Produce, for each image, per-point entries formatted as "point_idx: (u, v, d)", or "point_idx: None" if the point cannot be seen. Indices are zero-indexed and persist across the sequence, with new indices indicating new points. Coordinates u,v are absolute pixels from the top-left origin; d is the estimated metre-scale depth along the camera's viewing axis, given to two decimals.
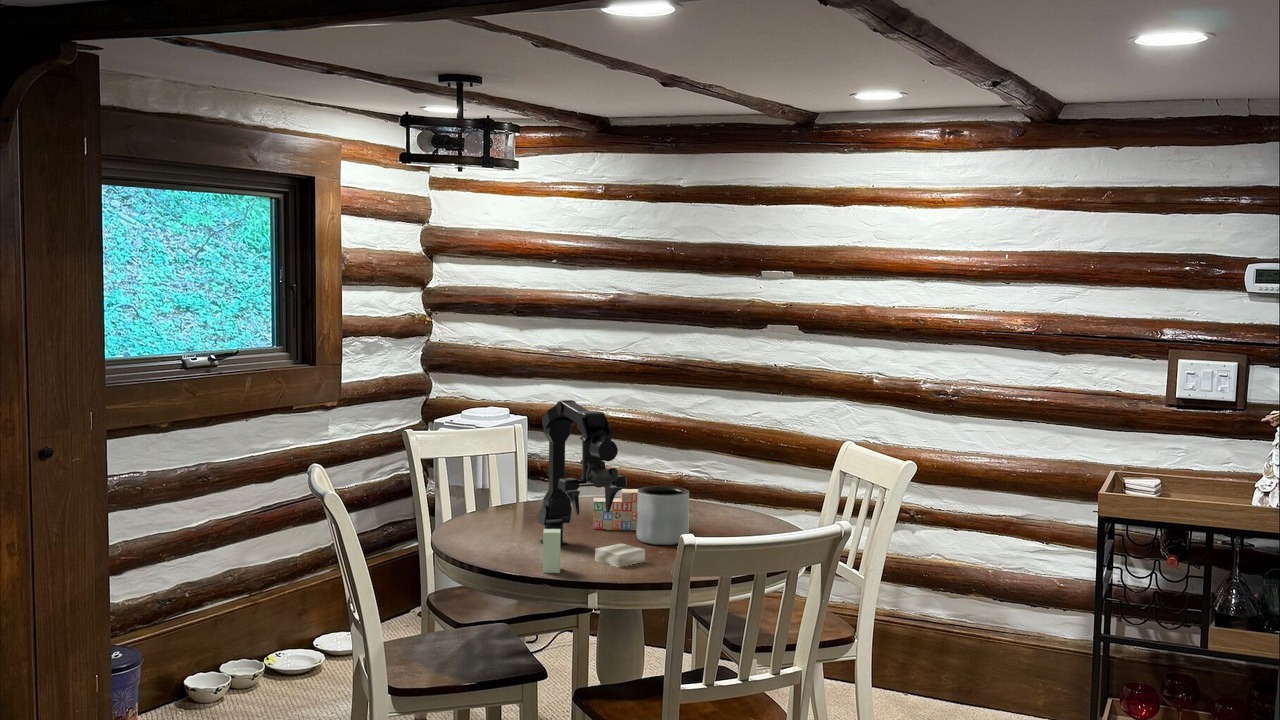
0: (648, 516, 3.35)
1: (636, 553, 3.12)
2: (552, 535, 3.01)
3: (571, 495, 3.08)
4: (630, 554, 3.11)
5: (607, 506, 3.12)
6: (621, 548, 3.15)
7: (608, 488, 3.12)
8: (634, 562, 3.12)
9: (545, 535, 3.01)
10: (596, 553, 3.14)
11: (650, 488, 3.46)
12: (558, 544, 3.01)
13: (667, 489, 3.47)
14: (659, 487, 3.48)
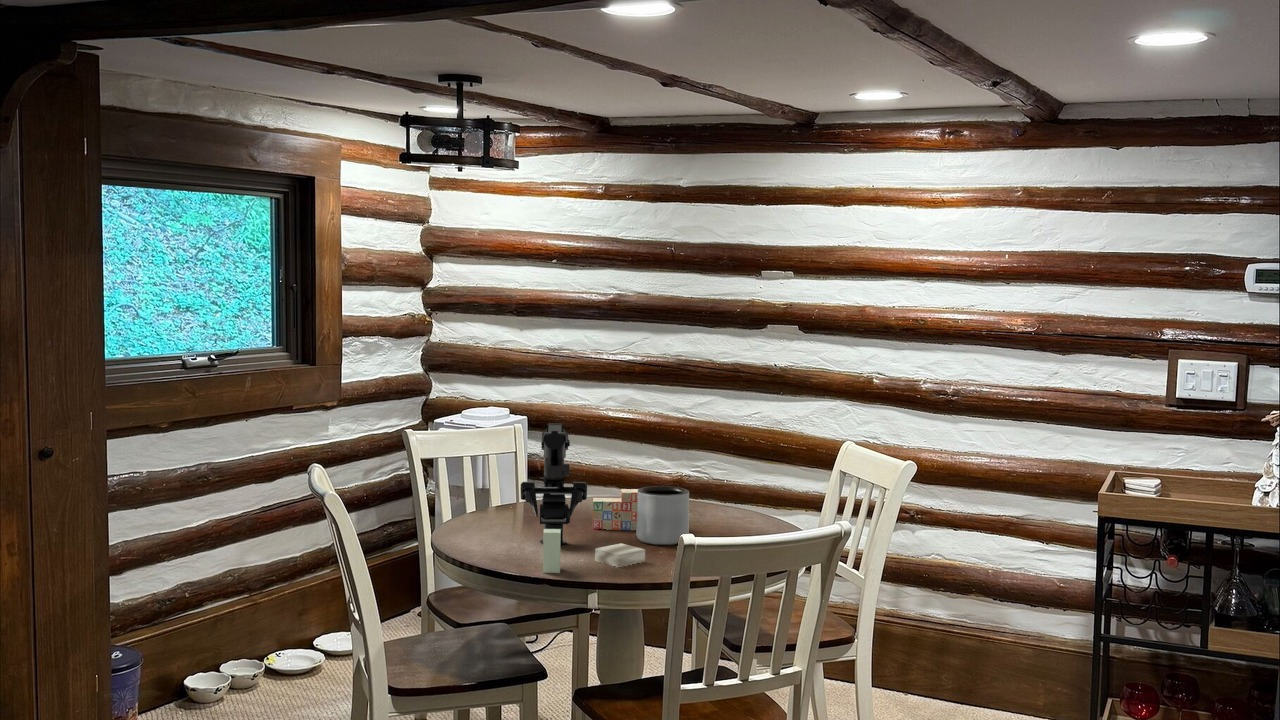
0: (648, 516, 3.35)
1: (636, 553, 3.12)
2: (553, 535, 3.01)
3: None
4: (630, 554, 3.11)
5: (569, 511, 3.12)
6: (621, 548, 3.15)
7: None
8: (634, 562, 3.12)
9: (545, 535, 3.01)
10: (596, 553, 3.14)
11: (650, 488, 3.46)
12: (558, 544, 3.01)
13: (667, 489, 3.47)
14: (659, 487, 3.48)
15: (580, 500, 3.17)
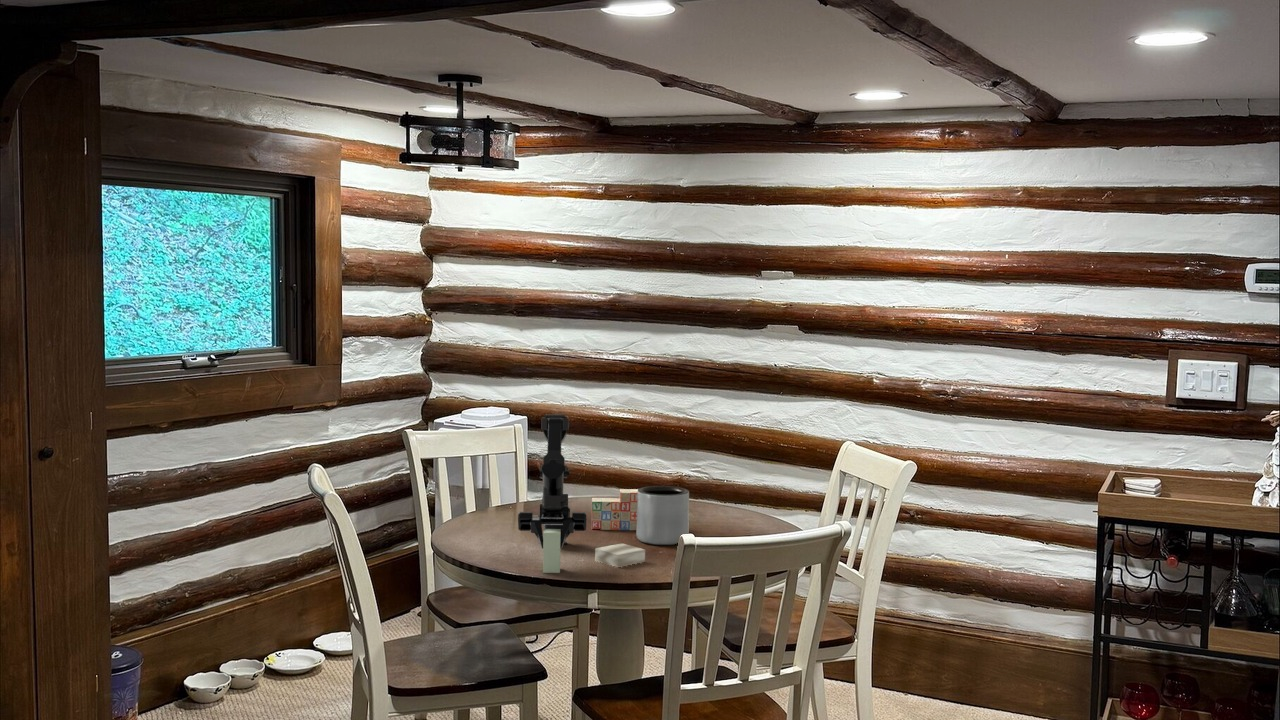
0: (648, 516, 3.35)
1: (635, 553, 3.12)
2: (552, 535, 3.01)
3: (538, 533, 3.06)
4: (629, 554, 3.11)
5: (560, 542, 3.03)
6: (621, 548, 3.15)
7: None
8: (634, 562, 3.12)
9: (545, 535, 3.01)
10: (596, 553, 3.15)
11: (650, 488, 3.46)
12: (558, 544, 3.01)
13: (667, 489, 3.47)
14: (659, 487, 3.48)
15: (572, 531, 3.08)
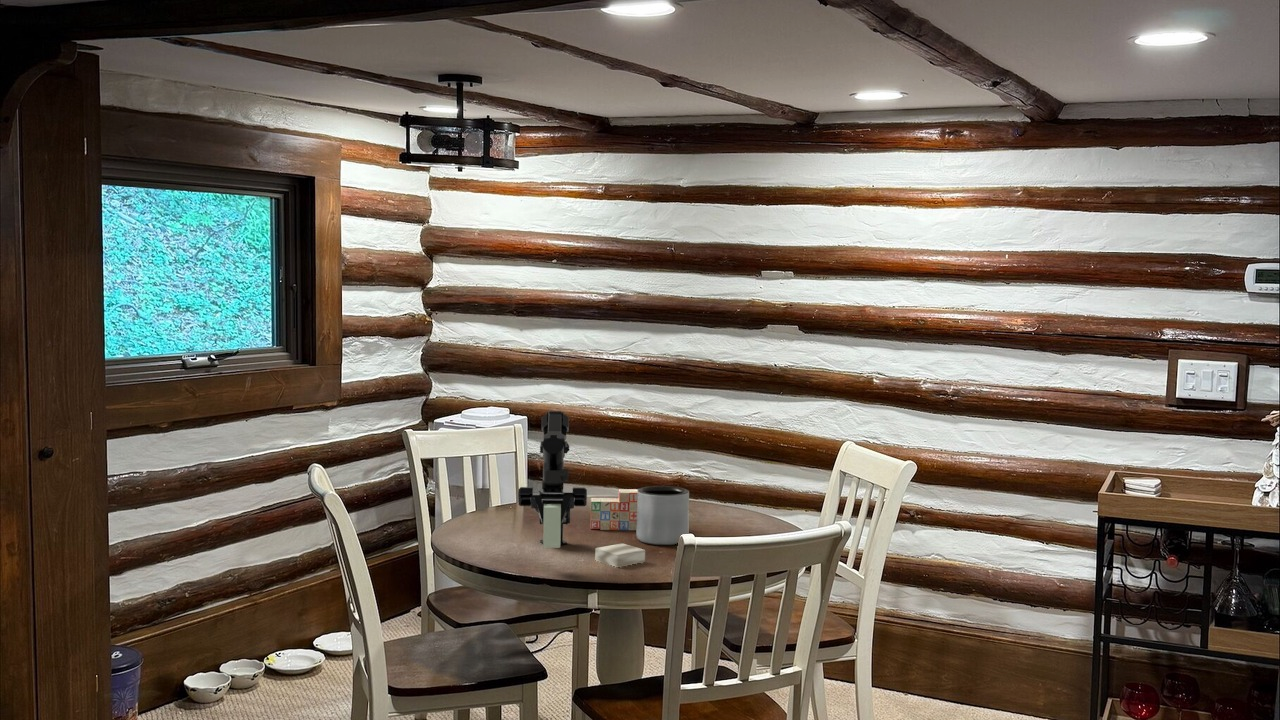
0: (648, 516, 3.35)
1: (635, 553, 3.12)
2: (553, 510, 3.00)
3: (538, 508, 3.06)
4: (629, 554, 3.10)
5: None
6: (621, 548, 3.15)
7: None
8: (633, 562, 3.12)
9: (545, 510, 3.00)
10: (597, 552, 3.15)
11: (650, 488, 3.46)
12: (558, 519, 3.01)
13: (667, 489, 3.47)
14: (659, 487, 3.48)
15: (572, 506, 3.07)
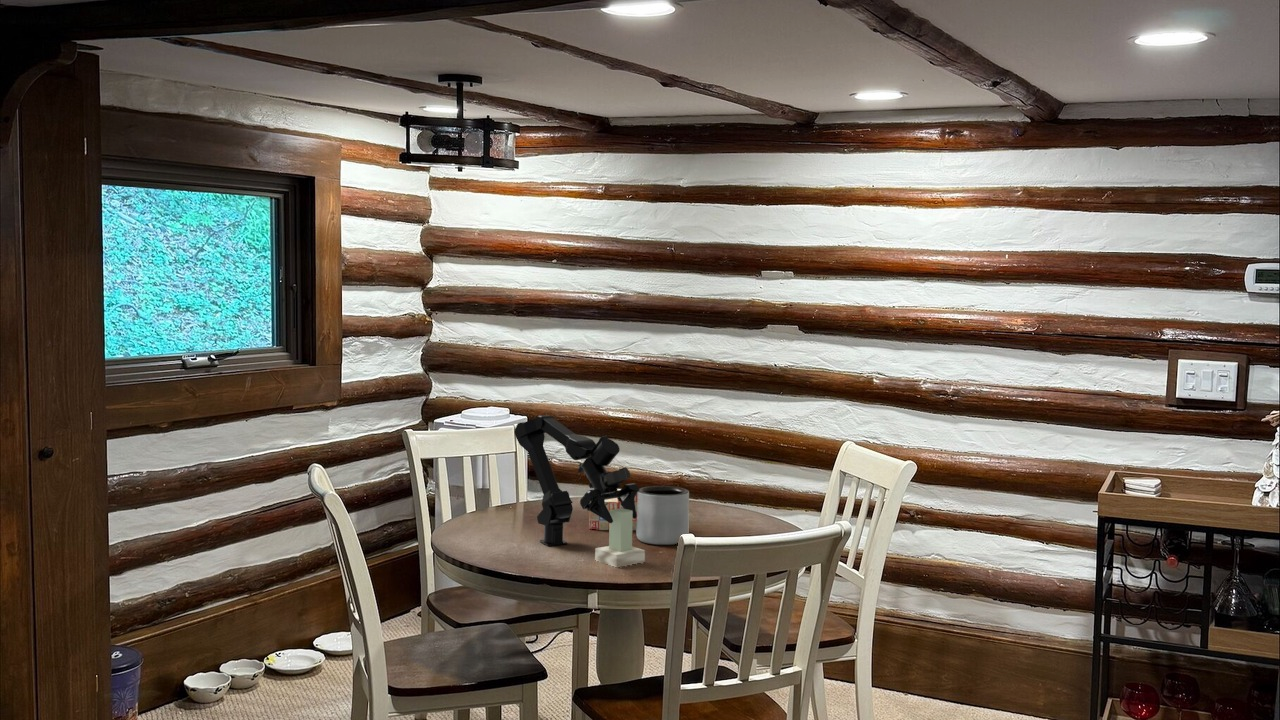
0: (648, 516, 3.35)
1: (635, 554, 3.12)
2: (627, 514, 3.13)
3: (597, 509, 3.12)
4: (628, 554, 3.10)
5: None
6: None
7: (625, 500, 3.20)
8: (633, 563, 3.12)
9: (622, 515, 3.11)
10: (596, 552, 3.15)
11: (650, 488, 3.46)
12: (631, 522, 3.14)
13: (667, 489, 3.47)
14: (659, 487, 3.48)
15: None
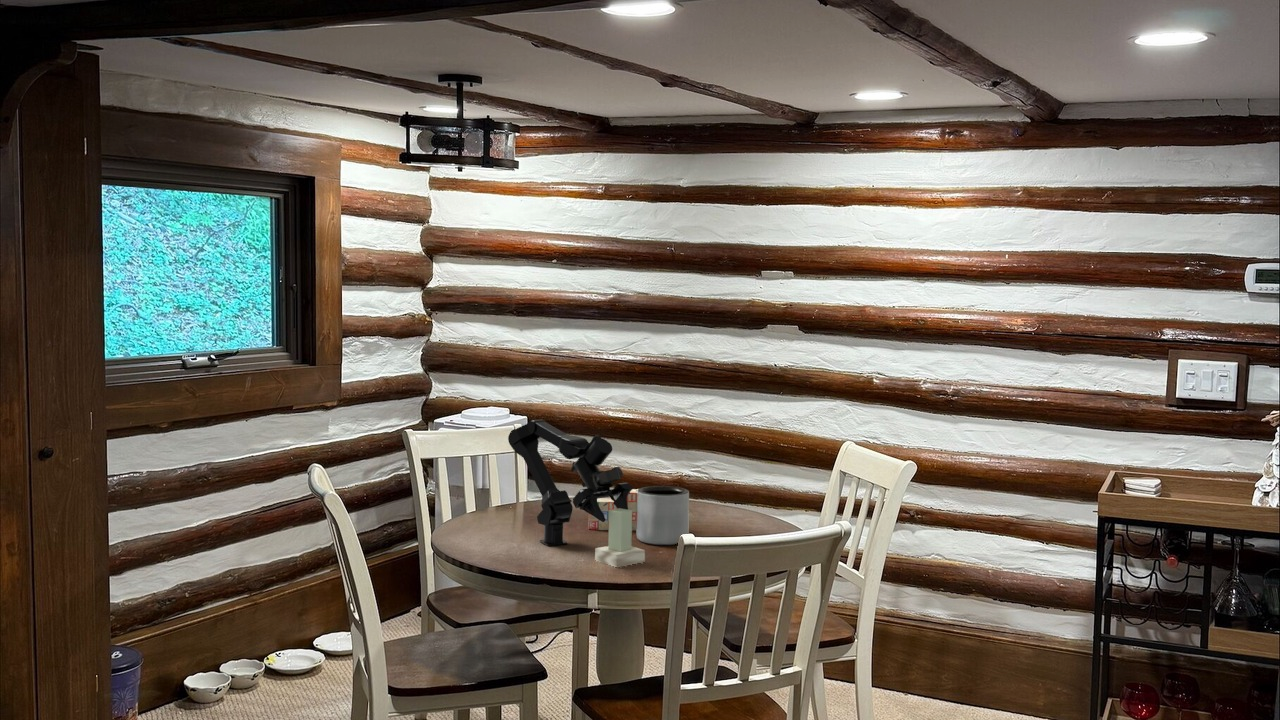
0: (648, 516, 3.35)
1: (635, 553, 3.12)
2: (627, 514, 3.13)
3: (590, 508, 3.14)
4: (628, 554, 3.10)
5: None
6: None
7: (617, 499, 3.22)
8: (633, 563, 3.12)
9: (622, 515, 3.11)
10: (596, 552, 3.15)
11: (650, 488, 3.46)
12: (630, 522, 3.14)
13: (667, 489, 3.47)
14: (659, 487, 3.48)
15: None
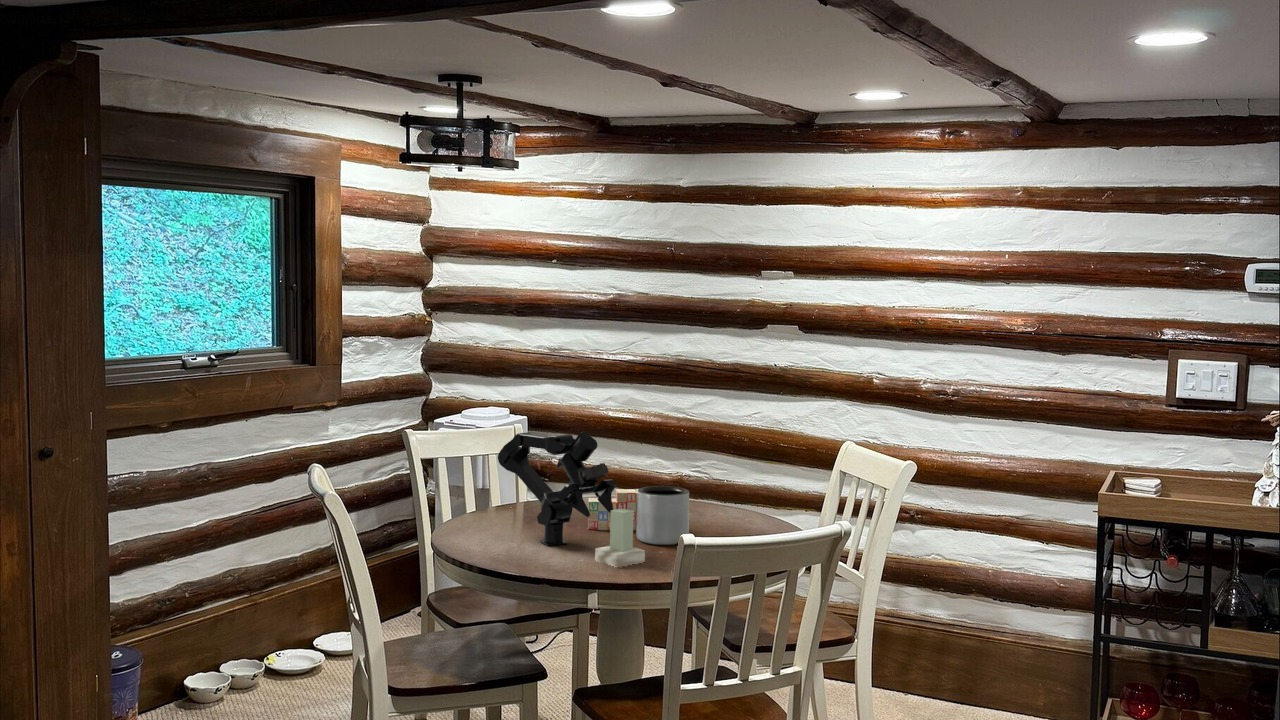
0: (648, 516, 3.35)
1: (635, 554, 3.12)
2: (629, 514, 3.13)
3: (575, 503, 3.18)
4: (628, 555, 3.10)
5: (609, 507, 3.24)
6: None
7: (602, 495, 3.27)
8: (633, 563, 3.11)
9: (624, 515, 3.11)
10: (596, 552, 3.15)
11: (650, 488, 3.46)
12: (632, 522, 3.14)
13: (667, 489, 3.47)
14: (659, 487, 3.48)
15: None
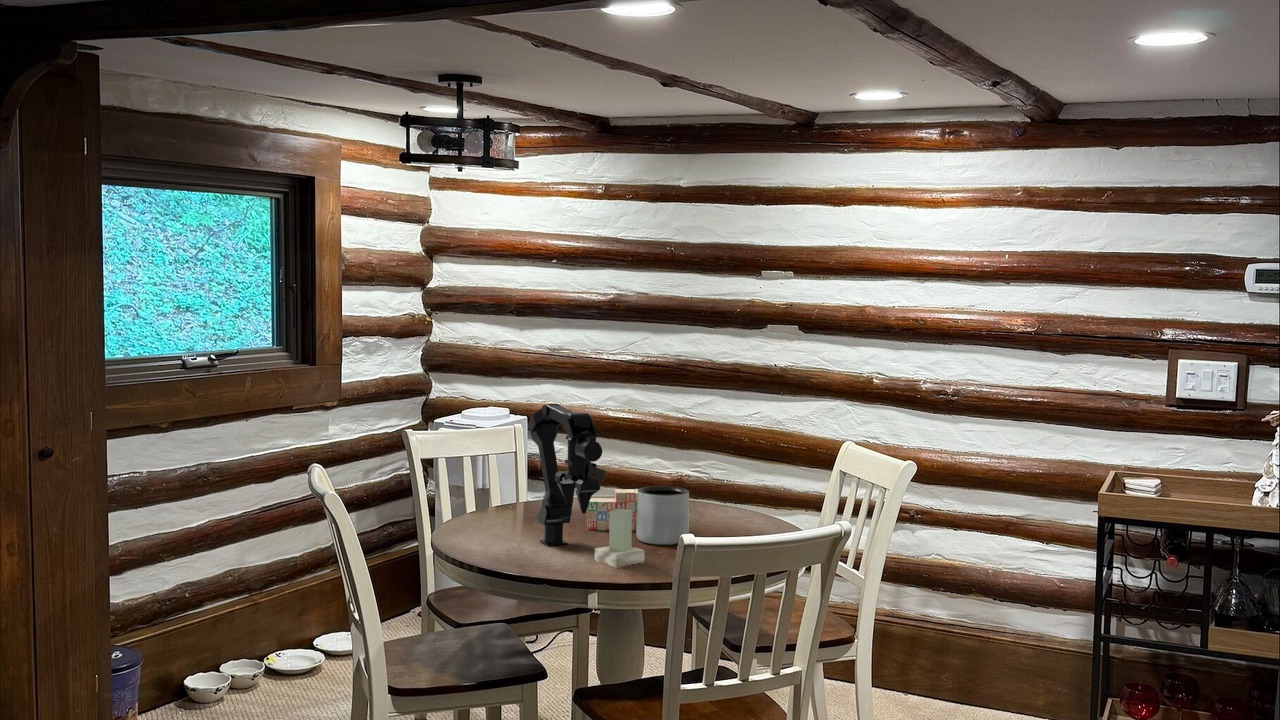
0: (648, 516, 3.35)
1: (634, 554, 3.12)
2: (628, 514, 3.13)
3: (582, 496, 3.15)
4: (628, 555, 3.10)
5: (571, 502, 3.25)
6: None
7: (568, 485, 3.25)
8: (632, 563, 3.11)
9: (624, 515, 3.11)
10: (596, 553, 3.15)
11: (650, 488, 3.46)
12: (630, 521, 3.15)
13: (667, 489, 3.47)
14: (659, 487, 3.48)
15: None
